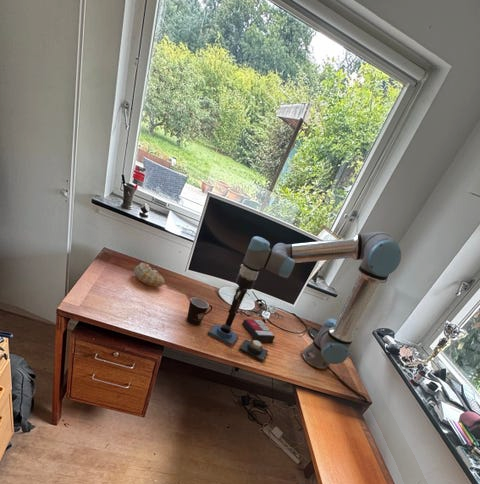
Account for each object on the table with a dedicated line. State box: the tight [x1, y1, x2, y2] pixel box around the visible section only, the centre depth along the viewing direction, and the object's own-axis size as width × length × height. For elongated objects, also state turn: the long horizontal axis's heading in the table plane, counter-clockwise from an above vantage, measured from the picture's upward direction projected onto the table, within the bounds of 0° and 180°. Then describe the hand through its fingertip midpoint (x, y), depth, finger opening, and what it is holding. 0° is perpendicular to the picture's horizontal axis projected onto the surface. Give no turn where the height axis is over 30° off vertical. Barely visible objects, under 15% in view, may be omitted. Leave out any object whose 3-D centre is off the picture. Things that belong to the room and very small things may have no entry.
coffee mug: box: [186, 297, 213, 326], centre depth 157 cm, size 12×9×10 cm
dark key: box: [221, 323, 232, 333], centre depth 158 cm, size 4×4×2 cm
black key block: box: [238, 339, 269, 363], centre depth 159 cm, size 12×10×4 cm
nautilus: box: [133, 261, 166, 288], centre depth 169 cm, size 8×22×15 cm
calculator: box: [242, 318, 276, 343], centre depth 174 cm, size 11×4×15 cm
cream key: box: [252, 339, 263, 349], centre depth 158 cm, size 4×4×2 cm
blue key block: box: [207, 323, 239, 347], centre depth 159 cm, size 12×10×4 cm
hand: (228, 324), depth 156 cm, fingers closed
